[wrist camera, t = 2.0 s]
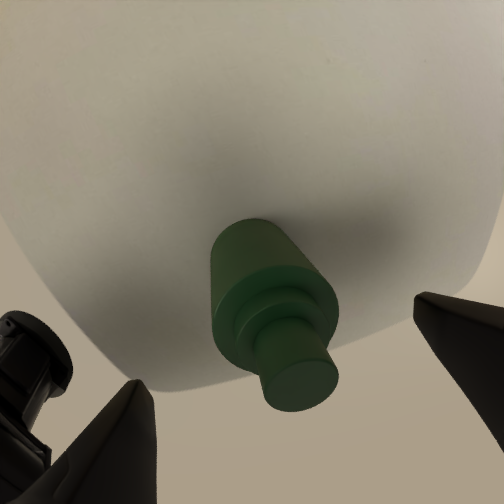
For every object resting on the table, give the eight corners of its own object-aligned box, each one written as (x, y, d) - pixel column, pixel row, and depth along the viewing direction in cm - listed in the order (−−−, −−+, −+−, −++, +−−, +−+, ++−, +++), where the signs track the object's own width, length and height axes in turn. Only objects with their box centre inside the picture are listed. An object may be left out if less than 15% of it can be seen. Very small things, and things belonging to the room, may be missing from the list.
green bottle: (249, 310, 17) (287, 450, 8) (193, 259, 15) (177, 394, 6) (307, 259, 16) (401, 370, 7) (255, 201, 15) (323, 276, 6)
